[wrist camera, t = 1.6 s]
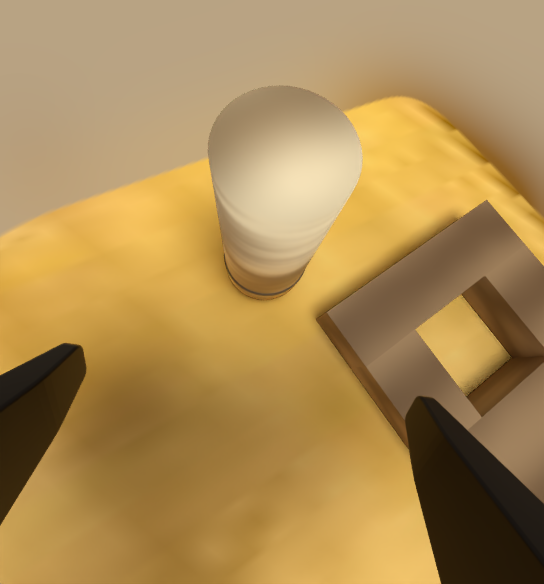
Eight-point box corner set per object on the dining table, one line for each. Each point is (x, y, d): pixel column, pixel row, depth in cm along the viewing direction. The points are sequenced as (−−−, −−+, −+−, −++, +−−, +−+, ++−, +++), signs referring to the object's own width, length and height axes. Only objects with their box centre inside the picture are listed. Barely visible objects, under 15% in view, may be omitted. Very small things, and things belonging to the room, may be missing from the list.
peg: (313, 279, 23) (395, 173, 11) (253, 319, 22) (266, 254, 10) (272, 223, 24) (303, 61, 11) (212, 259, 23) (174, 126, 10)
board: (668, 470, 22) (732, 486, 19) (532, 622, 20) (583, 667, 17) (458, 219, 25) (486, 199, 22) (315, 319, 23) (326, 312, 20)
